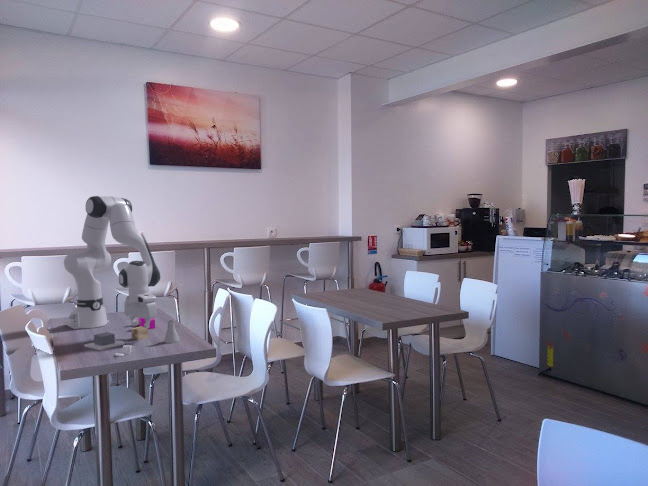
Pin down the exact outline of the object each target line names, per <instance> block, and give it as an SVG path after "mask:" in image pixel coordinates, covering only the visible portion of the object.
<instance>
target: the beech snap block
mask: <svg viewBox="0 0 648 486" xmlns="http://www.w3.org/2000/svg"><path fill="white" fill-rule="evenodd" d="M131 339H133V340H134V341H135V340H136V341H141V340H144V339H145V340H146V339H149V329H148V328H144V327H142V326H141V327H140V326H138V327H137V326H135V327H132V328H131Z"/></svg>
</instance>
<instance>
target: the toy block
mask: <svg viewBox="0 0 648 486" xmlns="http://www.w3.org/2000/svg"><path fill="white" fill-rule="evenodd" d="M137 318H138V325H139V326H138V327H141V326H142V327H144V324H145V323H146V321H145V318H139V317H137ZM155 322H156V321H155V318H153V319H151V321H150V324H149V326H150V327H149V328H148V330H150V329H151V330H152V329H155V328H156V323H155Z"/></svg>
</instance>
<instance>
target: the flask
mask: <svg viewBox="0 0 648 486" xmlns="http://www.w3.org/2000/svg"><path fill="white" fill-rule="evenodd" d="M166 321H167V329H166V333H165V337H164V340H163V343H164V344H175V343H179V342H180V340H181V339H180V338H179V335H178V332H177V331H176V328H175V321H176V320H175V319H167V320H166Z"/></svg>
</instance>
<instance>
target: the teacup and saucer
mask: <svg viewBox="0 0 648 486" xmlns="http://www.w3.org/2000/svg"><path fill="white" fill-rule="evenodd" d="M134 348H135V346H134V345H131V344H124V345H122V351H123V352H116V353H115V354H114V356H115V357H120V356H121V357H124V356H125V355H131V354H132V353H133V351H134Z"/></svg>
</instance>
